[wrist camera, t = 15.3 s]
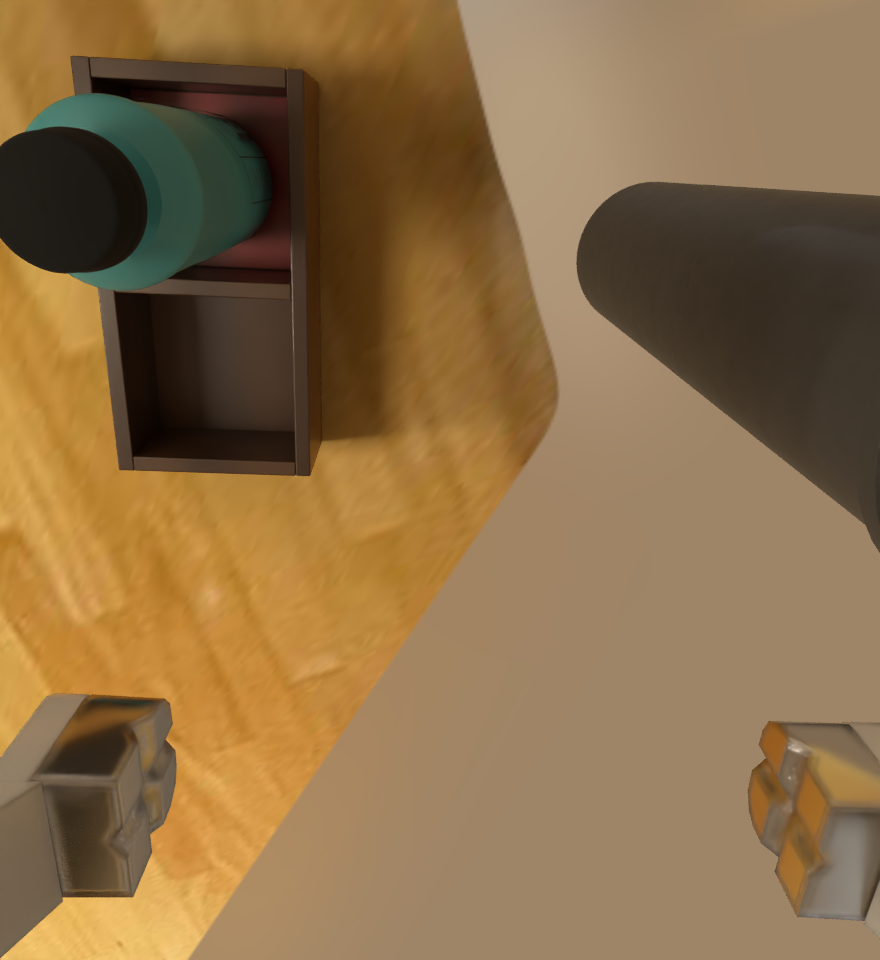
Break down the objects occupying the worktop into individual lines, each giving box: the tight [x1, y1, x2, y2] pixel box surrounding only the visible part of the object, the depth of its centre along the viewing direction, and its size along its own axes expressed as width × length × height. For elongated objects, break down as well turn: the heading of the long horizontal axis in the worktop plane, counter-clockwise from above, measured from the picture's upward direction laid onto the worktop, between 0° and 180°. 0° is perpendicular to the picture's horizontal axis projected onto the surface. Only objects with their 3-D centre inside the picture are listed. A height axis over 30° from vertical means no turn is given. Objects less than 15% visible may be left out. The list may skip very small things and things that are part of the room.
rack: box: [71, 56, 322, 476], centre depth 40 cm, size 10×19×6 cm, turn 177°
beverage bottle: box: [0, 93, 275, 291], centre depth 31 cm, size 6×7×20 cm
